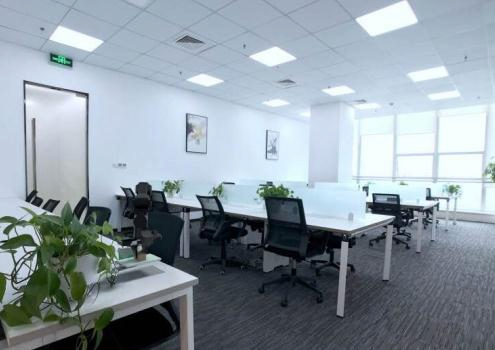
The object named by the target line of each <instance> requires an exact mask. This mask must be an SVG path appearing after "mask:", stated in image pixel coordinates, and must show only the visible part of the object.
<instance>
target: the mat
mask: <svg viewBox="0 0 495 350" xmlns="http://www.w3.org/2000/svg"><path fill="white" fill-rule="evenodd" d="M163 273H164V274H165V273H166V271H164V270H163V269H160V268H159V267H157V266H154V265H147V266H143V267H139V268H134V269H131V270H126V271H122V272H118V273H116V274H117V276H116V278H115V279H117V280H118V281H119V282H121V283H122V284H126V283H130V282H134V281H137V280H141V279H145V278H149V277H152V276H153V277H154V276H157V275H161V274H163Z"/></svg>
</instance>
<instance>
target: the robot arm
mask: <svg viewBox="0 0 495 350" xmlns="http://www.w3.org/2000/svg"><path fill="white" fill-rule="evenodd" d="M152 189H153V185H152V184H150V183H149V182H148V181H138V184H136V185H135V187H134V194H135V196H134V198H133V199H132V207H131V213H132V214H133V213H135V214H134V217H133V220H132V224H133V226H132V229H133V234H132V238H131V237H128V236H122V237H121V238H122V240H121V241H122V242H119V241H118V240H117V245H118V246H121V247H131V249H132V251H133V254H134V256H135V258H136V259H137V256H138V250H137V248H138V245H139V244H141V246H142V250H140V251H141V252H143V253H146V255H147V254H148V249H149V247H151V246H152V244H154V241H155V242H159V241H160V242H161V241H162V239H163V238H162V235H161V234H160V233H158V231H157V230H150V226H148V223H149V222H148V220H149V219H148V218H149V214H148V213H151V211H152V210H153V209H152V207H153V202H152V201H151V199H150V198H151V195H152V192H153V190H152Z"/></svg>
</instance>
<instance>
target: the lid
mask: <svg viewBox="0 0 495 350" xmlns="http://www.w3.org/2000/svg"><path fill="white" fill-rule="evenodd" d="M161 260H162V258H161V257H158V256H156V255H155V254H151V253H147V255H146V253H143V252H141V251H138V256H137V259H136V258H135V256H134V257H132V258H127V259H122V260H119V259H118V260H117V263H118V264H119V263H120V264H122V265H123V266H125V267H127V268H126V269H129V268H128V267H131V268H133V267H132V266H135V267H137V265H138V266H140V265H145V264H150V263H154V262H159V261H161Z"/></svg>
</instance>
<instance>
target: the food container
mask: <svg viewBox="0 0 495 350" xmlns="http://www.w3.org/2000/svg"><path fill="white" fill-rule="evenodd" d="M137 250H138V251H140V250H142V246H141V244H139V245H138V248H137ZM116 252H117V253H118V260H122V259H127V258H132V257H134V254H133V251H132V249H131V247H130V246H126V247H124V248H121V247H118V248H117V250H116ZM118 265H119V266H118V267H119V268H123V269H129V268H131V269H132V268H135V267H137V266H139V265H137V266H132V267H128V268H127V267H125V266H123V265H122V264H120V263H118Z"/></svg>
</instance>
